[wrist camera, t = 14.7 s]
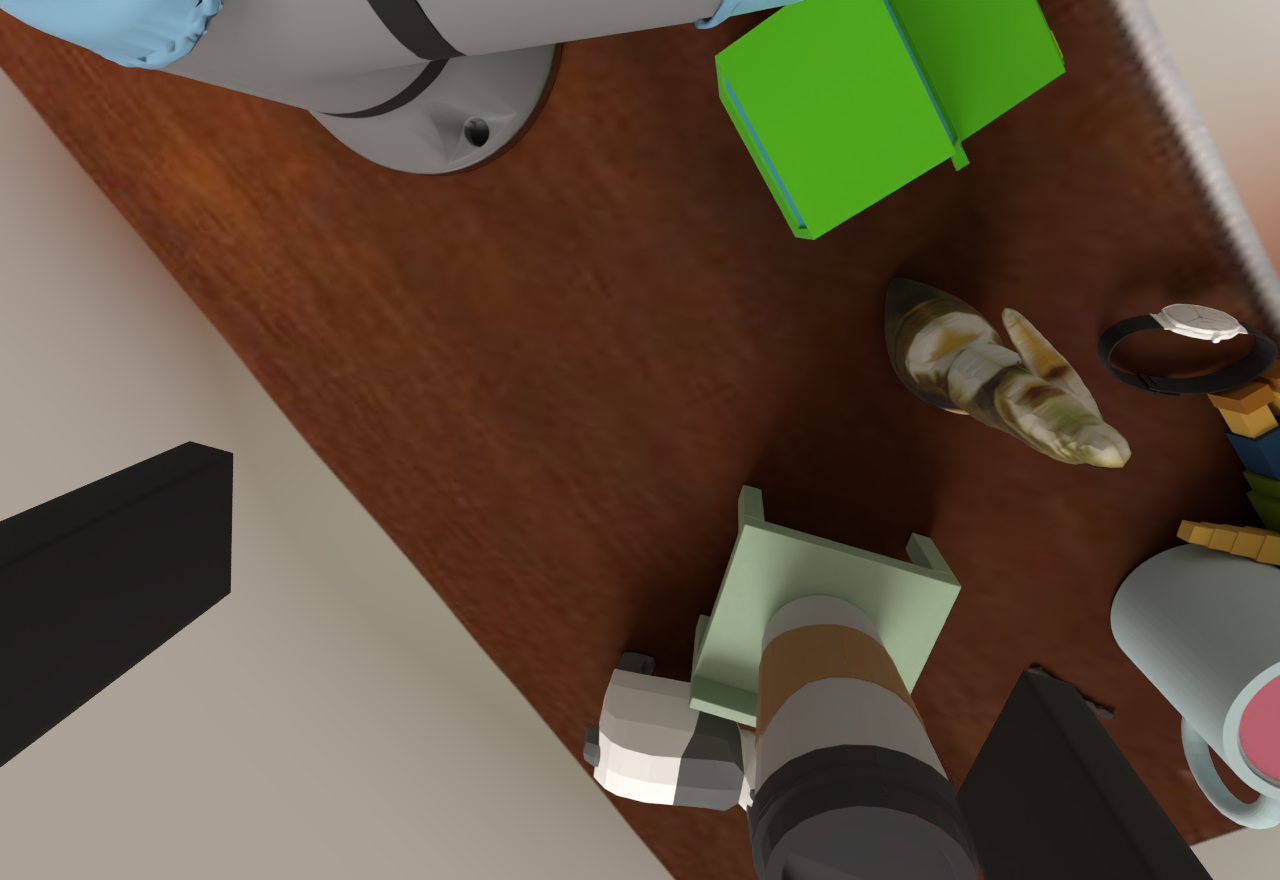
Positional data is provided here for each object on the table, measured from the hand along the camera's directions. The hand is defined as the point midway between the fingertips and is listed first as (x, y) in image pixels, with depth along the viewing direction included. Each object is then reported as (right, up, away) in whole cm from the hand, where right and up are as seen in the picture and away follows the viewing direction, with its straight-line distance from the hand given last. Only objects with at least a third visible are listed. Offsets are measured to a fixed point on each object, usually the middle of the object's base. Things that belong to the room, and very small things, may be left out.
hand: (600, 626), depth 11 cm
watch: (+29, +8, +25) cm, 40 cm away
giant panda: (+5, -15, +36) cm, 39 cm away
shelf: (+12, -6, +32) cm, 35 cm away
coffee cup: (+11, -8, +27) cm, 30 cm away
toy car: (+13, +21, +24) cm, 34 cm away
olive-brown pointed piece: (+17, +9, +27) cm, 33 cm away
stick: (+29, -12, +32) cm, 45 cm away
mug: (+34, -9, +30) cm, 47 cm away
